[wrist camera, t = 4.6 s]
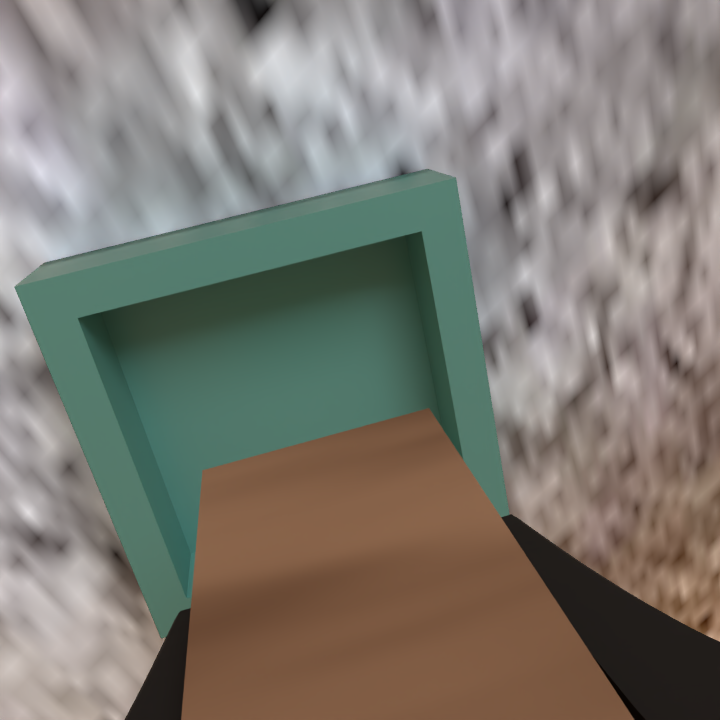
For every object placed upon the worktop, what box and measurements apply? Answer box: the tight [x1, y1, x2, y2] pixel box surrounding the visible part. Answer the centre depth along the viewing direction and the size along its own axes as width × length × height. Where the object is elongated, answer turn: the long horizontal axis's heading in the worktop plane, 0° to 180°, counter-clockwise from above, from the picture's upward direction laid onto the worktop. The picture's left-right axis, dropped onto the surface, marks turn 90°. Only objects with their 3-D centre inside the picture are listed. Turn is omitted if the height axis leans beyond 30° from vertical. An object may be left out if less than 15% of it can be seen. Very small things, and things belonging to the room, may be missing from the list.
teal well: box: [15, 169, 509, 638], centre depth 18 cm, size 10×10×2 cm
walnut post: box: [181, 408, 634, 720], centre depth 9 cm, size 4×4×7 cm
